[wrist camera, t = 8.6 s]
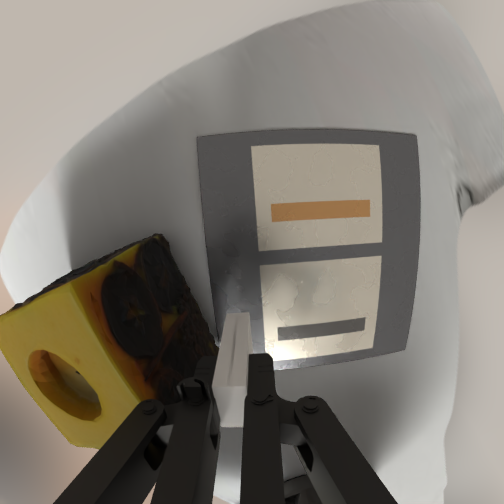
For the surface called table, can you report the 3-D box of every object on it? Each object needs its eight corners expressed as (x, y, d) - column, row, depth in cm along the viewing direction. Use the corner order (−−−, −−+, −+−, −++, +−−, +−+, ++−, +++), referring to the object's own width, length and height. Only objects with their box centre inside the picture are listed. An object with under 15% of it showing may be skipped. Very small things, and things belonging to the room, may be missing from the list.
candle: (223, 351, 20) (197, 458, 11) (124, 371, 22) (73, 449, 12) (165, 226, 18) (74, 277, 8) (68, 271, 19) (-16, 323, 10)
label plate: (404, 349, 21) (405, 349, 21) (223, 372, 21) (223, 373, 21) (415, 135, 17) (416, 135, 17) (197, 137, 17) (196, 137, 17)
